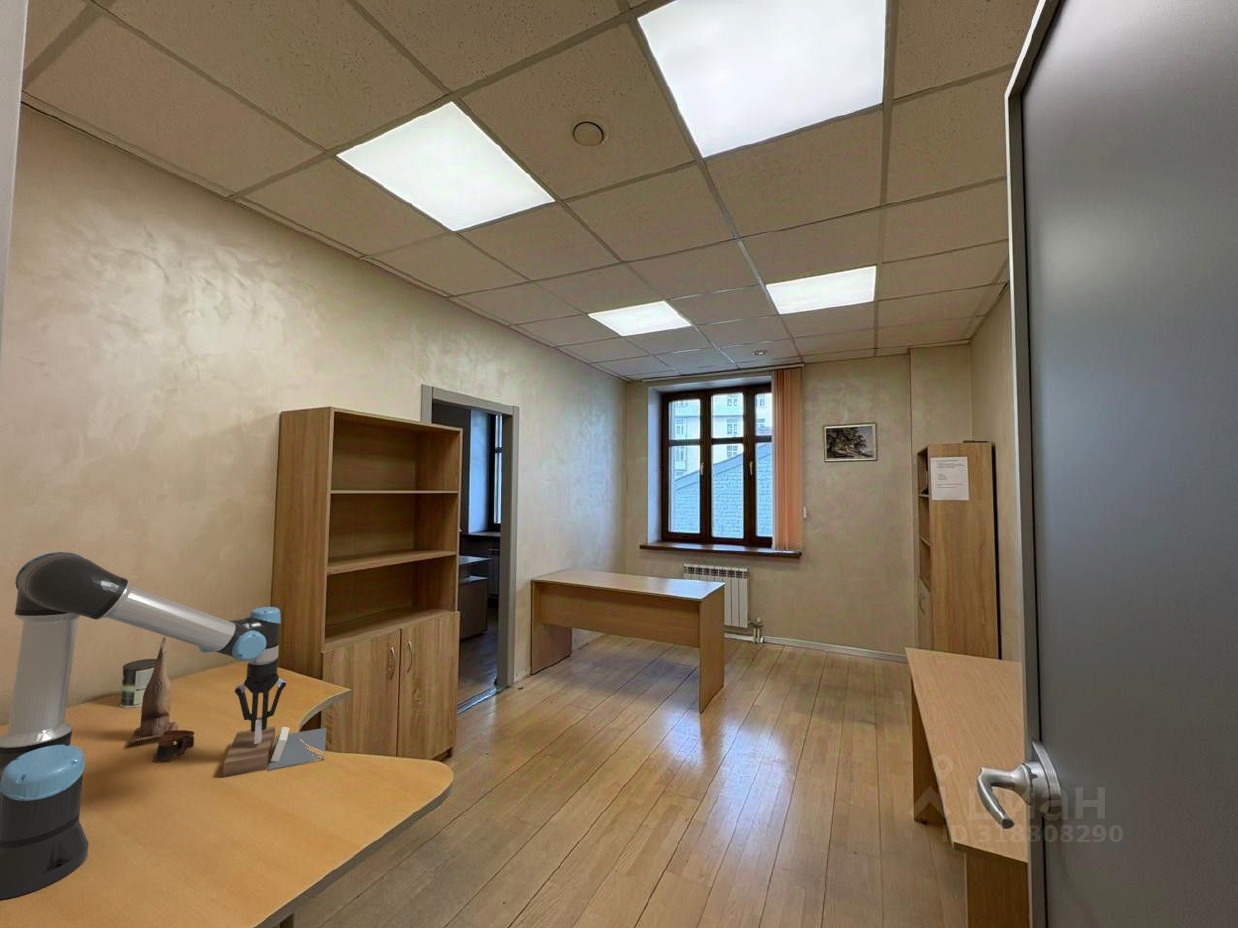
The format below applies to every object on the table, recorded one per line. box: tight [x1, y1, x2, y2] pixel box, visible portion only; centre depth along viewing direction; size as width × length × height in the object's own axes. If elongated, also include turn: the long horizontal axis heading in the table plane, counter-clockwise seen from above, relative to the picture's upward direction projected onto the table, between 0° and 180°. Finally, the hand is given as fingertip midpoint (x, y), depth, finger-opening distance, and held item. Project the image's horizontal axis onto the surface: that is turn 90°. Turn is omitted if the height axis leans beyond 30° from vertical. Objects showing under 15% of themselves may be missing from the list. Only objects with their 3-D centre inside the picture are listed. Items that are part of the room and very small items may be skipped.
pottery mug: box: [151, 729, 196, 763], centre depth 154 cm, size 12×10×8 cm
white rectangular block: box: [270, 726, 290, 762], centre depth 155 cm, size 9×6×2 cm
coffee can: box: [119, 658, 157, 709], centre depth 189 cm, size 10×10×14 cm
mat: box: [267, 727, 328, 772], centre depth 160 cm, size 22×14×1 cm, turn 28°
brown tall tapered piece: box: [125, 636, 179, 750], centre depth 164 cm, size 11×12×32 cm
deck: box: [222, 725, 276, 778], centre depth 154 cm, size 20×10×4 cm, turn 28°
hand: (258, 741), depth 152 cm, fingers closed
